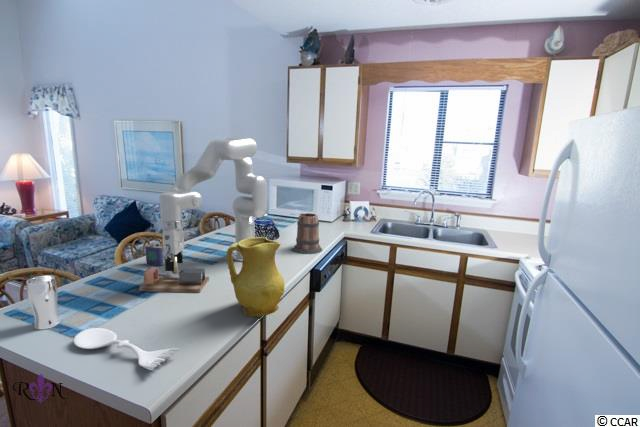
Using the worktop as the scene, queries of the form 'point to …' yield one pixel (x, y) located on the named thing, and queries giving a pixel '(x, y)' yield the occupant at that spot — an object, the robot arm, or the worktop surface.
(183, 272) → the outer sleeve
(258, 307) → the pitcher
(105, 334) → the spoon
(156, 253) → the flask
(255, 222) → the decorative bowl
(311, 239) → the tankard
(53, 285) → the beer glass
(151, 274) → the socket block
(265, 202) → the robot arm
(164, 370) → the worktop surface
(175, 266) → the brushed metal peg
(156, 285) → the base board
